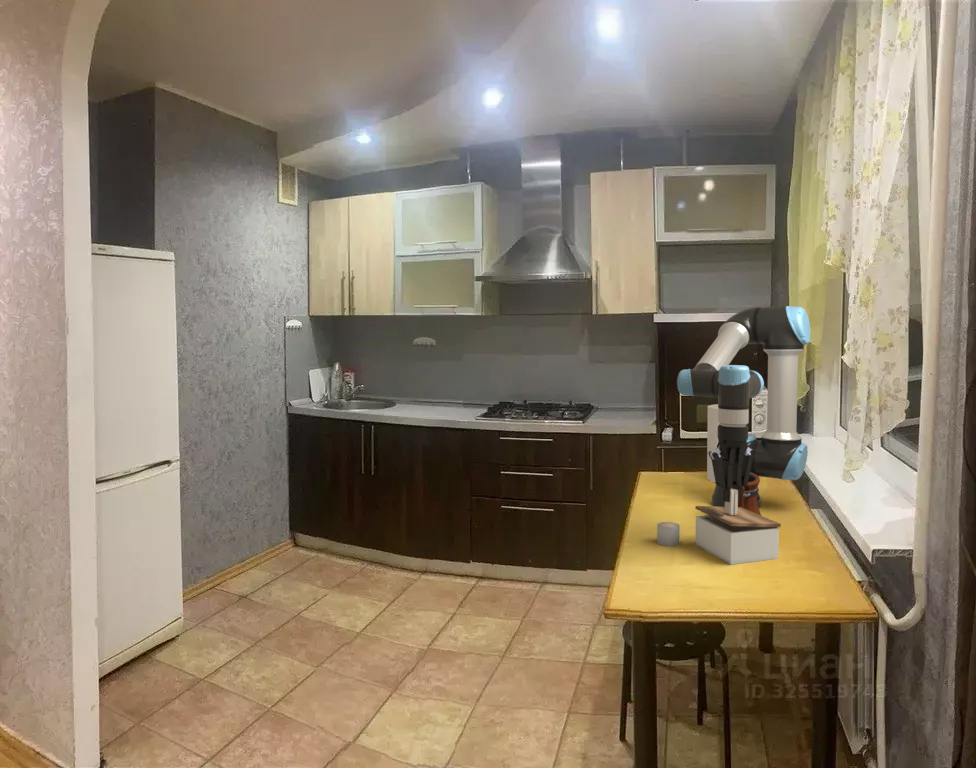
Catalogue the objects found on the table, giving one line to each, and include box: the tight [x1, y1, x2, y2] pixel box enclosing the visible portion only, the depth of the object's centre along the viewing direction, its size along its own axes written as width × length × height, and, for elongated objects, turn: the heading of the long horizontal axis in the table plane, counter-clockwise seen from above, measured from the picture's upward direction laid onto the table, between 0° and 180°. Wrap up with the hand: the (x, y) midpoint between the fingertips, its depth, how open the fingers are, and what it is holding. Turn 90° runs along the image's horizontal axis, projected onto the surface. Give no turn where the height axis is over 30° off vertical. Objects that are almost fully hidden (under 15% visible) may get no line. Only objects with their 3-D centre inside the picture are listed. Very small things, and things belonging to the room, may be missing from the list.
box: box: [695, 514, 780, 566], centre depth 179 cm, size 14×16×8 cm
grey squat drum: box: [656, 521, 681, 547], centre depth 187 cm, size 6×6×5 cm
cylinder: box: [706, 403, 720, 483], centre depth 255 cm, size 17×17×28 cm
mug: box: [731, 472, 763, 516], centre depth 199 cm, size 18×12×15 cm, turn 153°
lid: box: [695, 505, 782, 528], centre depth 178 cm, size 14×16×1 cm
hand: (731, 513), depth 177 cm, fingers closed
